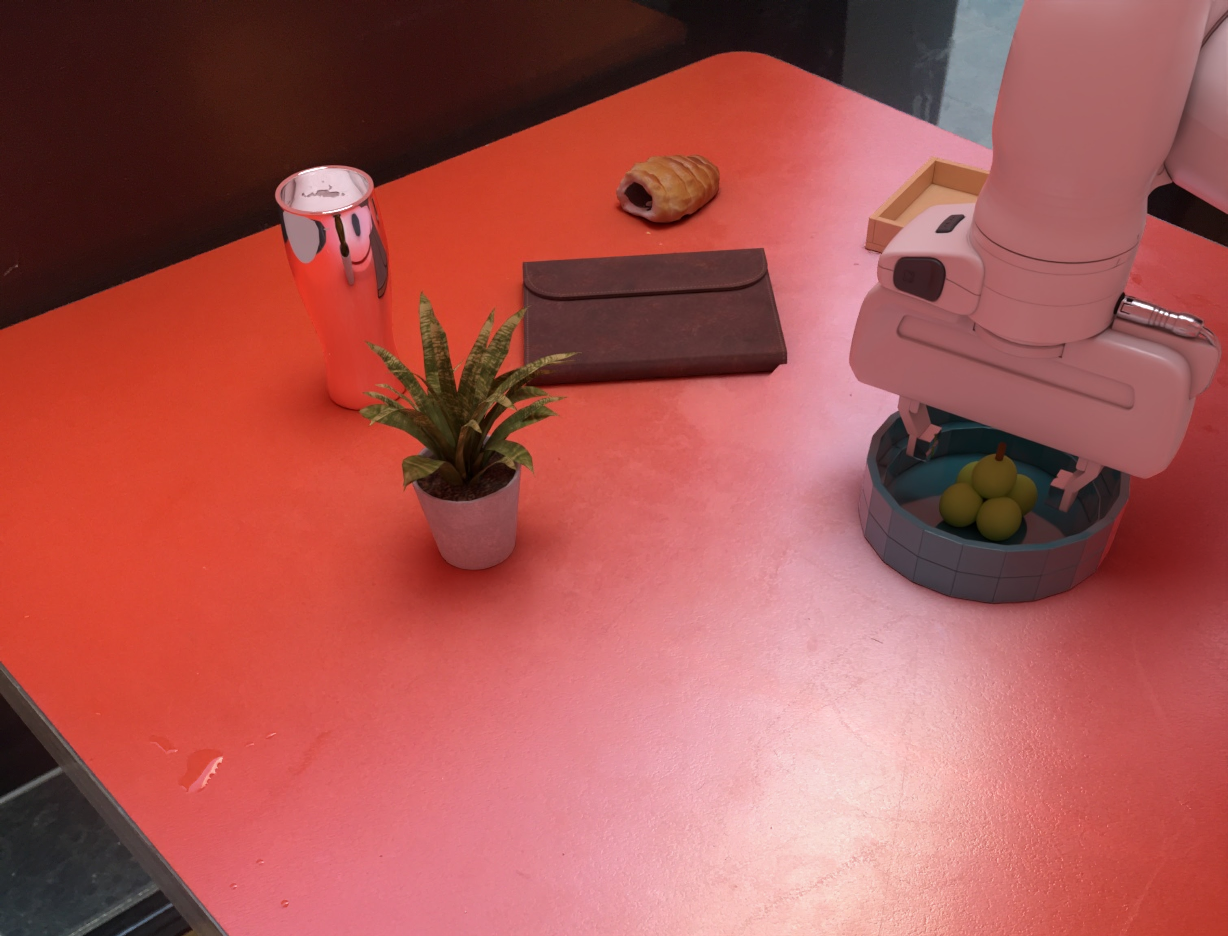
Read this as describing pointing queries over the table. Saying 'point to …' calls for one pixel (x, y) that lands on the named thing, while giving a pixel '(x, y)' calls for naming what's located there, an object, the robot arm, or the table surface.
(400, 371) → the house plant
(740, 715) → the table surface
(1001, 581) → the bowl
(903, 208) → the tray
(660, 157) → the pastry
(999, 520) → the grapes
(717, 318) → the notebook
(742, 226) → the table surface
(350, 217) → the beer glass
